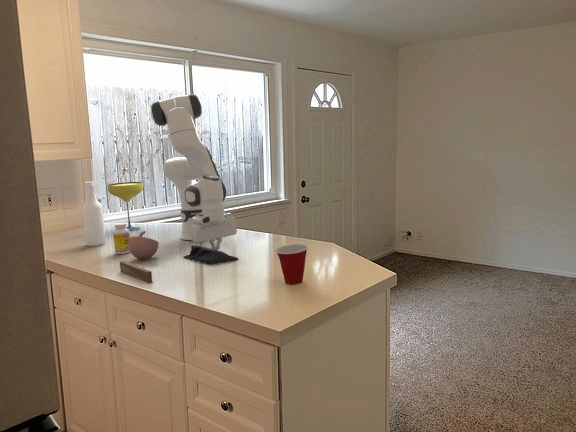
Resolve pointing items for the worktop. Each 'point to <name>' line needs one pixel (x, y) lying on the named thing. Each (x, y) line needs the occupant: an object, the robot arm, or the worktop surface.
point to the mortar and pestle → (142, 246)
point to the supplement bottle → (121, 238)
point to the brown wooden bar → (136, 272)
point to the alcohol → (93, 218)
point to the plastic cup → (292, 262)
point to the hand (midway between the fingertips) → (216, 249)
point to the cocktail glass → (126, 194)
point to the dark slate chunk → (208, 255)
